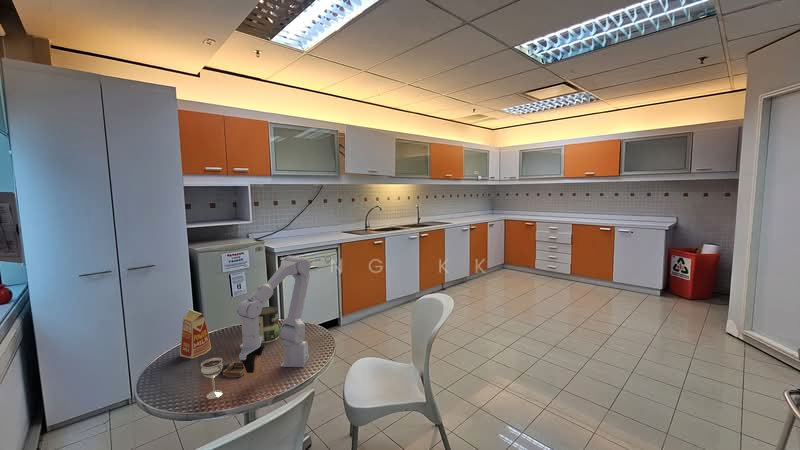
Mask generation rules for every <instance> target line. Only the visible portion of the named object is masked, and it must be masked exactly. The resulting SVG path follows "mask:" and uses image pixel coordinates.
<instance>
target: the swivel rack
mask: <svg viewBox="0 0 800 450" xmlns="http://www.w3.org/2000/svg"><path fill="white" fill-rule="evenodd" d="M222 363H223V369H222V371H221V372H222V376H223V377H243V375H244V368H243V369H242V370H241V371H231V370H233V368H234V367H243V363H242V361H240V362H239V361H233V362H232V363H230V362H222ZM221 372H220V373H221Z"/></svg>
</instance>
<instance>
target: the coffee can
mask: <svg viewBox="0 0 800 450" xmlns="http://www.w3.org/2000/svg"><path fill="white" fill-rule="evenodd" d="M258 317H259V332H260V336H263V341H262V342H261V344H267V343H271V342H275V341H277V340H278V339H280V337H279V329H280V327H279V315H278V307H276V306H263V308H262V311H261V314H260V315H259V316H258Z"/></svg>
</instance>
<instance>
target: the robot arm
mask: <svg viewBox="0 0 800 450" xmlns="http://www.w3.org/2000/svg"><path fill="white" fill-rule="evenodd" d="M311 266H312V263H311V262H310V260H309V259H308V258H307V257H301V256H300V257H298V256H293V255H287V256H285V257H284V259H283V260H282V261H281V262H280V266H279V267H278V268H277V270H275V272H274V273H273V275H272V276H271V277H270V278H269V280H268V281H267V282H266V283H264V284H263V283H262V284H260V285H258V286H257V287H256V289H255V291H253V292H252V294H250V295H249V296H248V298H247V299H245V300H242V301H241V302H240V303H239V305H238V307H237V309H236V314H238V316H239V317H240V318H239V319H240V321H241V334H242V335H241V336H242V343H241V344H240V345H239V348H240V349H241V350H240V353H239V354H238V360H240V362H242V363H243V364H244V367H245V369H246V372H247V373H253V371H254V361H255V357H256V355H261V356H262V354H263V351H264V348H265V343H261V342H262V341H263V336H260V332H259V317H258V316H259V315H260V314H261V311H262V308H263V307H265V306H264V305H265V304H266V303H267V301H269V299H270V298H271V297H272V296H273V295H274V289H275V288H276V287H277V286H278V285H280V284H281V283H282V281H284V280H285V279H286V278H287V276H292V277H293V279H294V285H293V288H292V289H293V291H292V294H291V300H290V306H289V310H288V314H287V317H286V318H285V319H284V320H282V323H281V326H280V327H279V339H280V340H281V342H282V347H283V362H282V363H281V364H280V367H281V368H304V367H305V366H306V363H307V361H308V360H309V358H310V356H309V344H308V343H309V342H308V341H306V340H304V339H305V337H306V328H305V327H306V324H305V323H304V321H303V320H302V317H303V312H304V306H305V303H306V297H307V292H308V286H309V281H310V270H311ZM244 367H243V368H244Z"/></svg>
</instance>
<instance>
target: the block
mask: <svg viewBox="0 0 800 450" xmlns="http://www.w3.org/2000/svg"><path fill="white" fill-rule="evenodd" d="M242 367H243V369H244V374H243V375H244V377H243V378H244V379H247V380H248V379H253V380H254V379H255V380H256V379H257V378H258V377H259V376H260V375H261V373H263V371H262V370H263V368H262V367H263V366H262V354H261V355H256V357H255V361H254V371H253V373H247V372H246V369H245V367H244V364H243V366H242Z"/></svg>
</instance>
